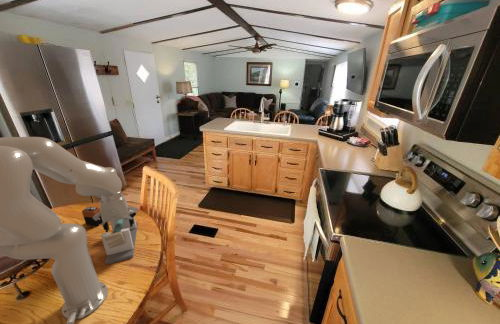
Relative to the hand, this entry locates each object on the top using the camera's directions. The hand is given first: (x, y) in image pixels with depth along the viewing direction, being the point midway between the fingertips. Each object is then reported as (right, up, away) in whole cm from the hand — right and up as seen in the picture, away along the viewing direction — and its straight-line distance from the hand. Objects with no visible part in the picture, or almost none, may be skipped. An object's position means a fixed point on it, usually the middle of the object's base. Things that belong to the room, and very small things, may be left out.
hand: (120, 227), depth 94 cm
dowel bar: (0, -2, +1) cm, 2 cm away
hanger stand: (0, -8, +3) cm, 8 cm away
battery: (-23, -3, +15) cm, 28 cm away
